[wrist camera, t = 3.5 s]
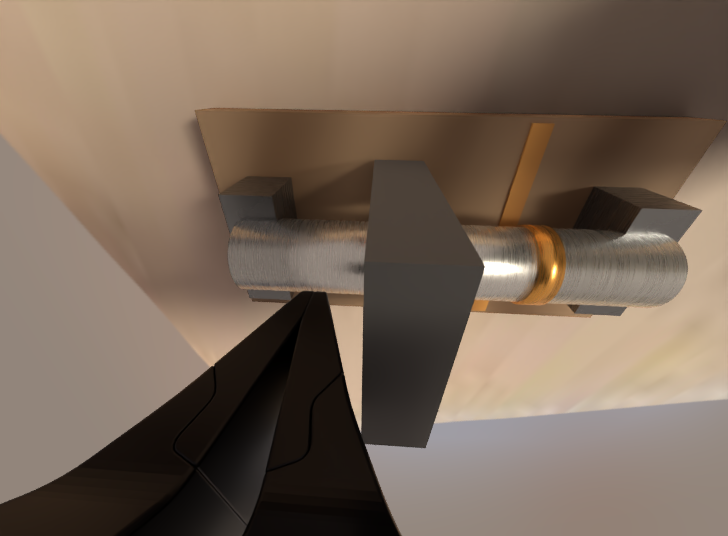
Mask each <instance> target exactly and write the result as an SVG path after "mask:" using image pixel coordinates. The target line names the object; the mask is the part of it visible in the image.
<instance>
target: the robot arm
mask: <svg viewBox="0 0 728 536" xmlns="http://www.w3.org/2000/svg"><path fill="white" fill-rule="evenodd" d="M0 536H402V535H401V533H400V531H399V529H398V527H397V525H396V523H395V521H394V519H393V516H392V514H391V512H390V510H389V507H388V505H387V502H386V500H385V497H384V495H383V492H382V490H381V487H380V484H379V482H378V479H377V476H376V474H375V471H374V468H373V465H372V463H371V460H370V457H369V455H368V452H367V449H366V446H365V444H364V441H363V438H362V435H361V433H360V430H359V427H358V424H357V421H356V418H355V415H354V412H353V409H352V406H351V402H350V398H349V394H348V390H347V386H346V381H345V376H344V372H343V367H342V362H341V357H340V353H339V348H338V343H337V338H336V333H335V329H334V324H333V319H332V314H331V310H330V305H329V300H328V295H327V292H322V291H315V292H314V291H301V292H300V293H299V294H297V295H296V296H295V297H294V298H293V299H291V300H290V301H289V302H288V303H287V304H285V305H284V306H283V307H282V308H281V309H280V310H278V311H277V312H276V313H275V314H274V315H272V316H271V317H270V318H269V319H268V320H266V321H265V322H264V323H263V324H262V325H260V326H259V327H258V328H257V329H256V330H254V331H253V332H252V333H251V334H250V335H249V336H247V337H246V338H245V339H244V340H243V341H241V342H240V343H239V344H238V345H237V346H235V347H234V348H233V349H232V350H231V351H229V352H228V353H227V354H226V355H225V356H223V357H222V358H221V359H220V360H219V361H218V362H216V363H215V365H214V366H211V367H210V368H209V369H208V370H207V371H205V372H204V373H203V374H202V375H201V376H200V377H198V378H197V379H196V380H195V381H193V382H192V383H191V384H190V385H188V386H187V387H186V388H185V389H183V390H182V391H181V392H180V393H178V394H177V395H176V396H174V397H173V398H172V399H170V400H169V401H168V402H166V403H165V404H164V405H162V406H161V407H160V408H158V409H157V410H156V411H154V412H153V413H151V414H150V415H149V416H147V417H146V418H145V419H143V420H142V421H141V422H139V423H138V424H136V425H135V426H134V427H132V428H131V429H129V430H128V431H127V432H125V433H124V434H122V435H121V436H120V437H118V438H117V439H116V440H114V441H113V442H111V443H110V444H109V445H107V446H106V447H104V448H103V449H102V450H100V451H99V452H98V453H96V454H95V455H94V456H92V457H91V458H89V459H88V460H86V461H85V462H83V463H82V464H80V465H79V466H78V467H76V468H74V469H73V470H71V471H70V472H68V473H66V474H65V475H63V476H61V477H59V478H58V479H56V480H54V481H52V482H50V483H48V484H47V485H44V486H42V487H40V488H38V489H36V490H34V491H31V492H29V493H27V494H24V495H22V496H19V497H17V498H14V499H12V500H9V501H7V502H4V503H2V504H0Z"/></svg>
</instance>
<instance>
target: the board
mask: <svg viewBox="0 0 728 536" xmlns="http://www.w3.org/2000/svg"><path fill="white" fill-rule="evenodd" d="M195 113H196V116H197V120H198V123H199V126H200V130H201V133H202V136H203V139H204V143H205V146H206V149H207V153H208V156H209V159H210V163H211V166H212V169H213V173H214V176H215V179H216V183H217V186H218V189H219V193H222V192H223V191H225V190H226V189H228V188H229V187H231V186H232V185H234V184H236V183H237V182H239V181H240V180H242V179H243V178H245V177H246V176H260V177H291V179H292V187H293V194H294V201H295V208H296V215H297V219H310V220H338V221H366V222H368V219H369V209H370V200H371V190H372V180H373V170H374V161H375V160H407V161H424V162H425V164H426V166H427V167H428V169H429V171H430V172H431V174H432V176H433V178H434V179H435V181H436V183H437V184H438V186H439V188H440V190H441V191H442V193H443V195H444V196H445V198H446V200H447V202H448V203H449V205H450V207H451V208H452V210H453V212H454V213H455V215H456V217H457V219H458V220H459V222H460V224H461V225H479V226H507V227H515V226H517V225H545V226H549V227H551V228H563V229H572V228H573V226H574V224H575V222H576V220H577V218H578V216H579V214H580V212H581V210H582V208H583V206H584V204H585V202H586V201H587V199H588V197H589V195H590V193H591V191H592V189H593V187H594V186H600V187H634V188H645V189H647V190H650V191H653V192H655V193H658V194H660V195H663V196H666V197H668V198H671V199H673V198H674V197H675V195H676V194H677V192H678V191H679V189H680V188H681V186H682V185H683V184H684V182H685V181H686V179H687V178H688V176H689V175H690V174H691V172H692V171H693V169H694V168H695V166H696V165H697V163H698V162H699V161H700V159H701V158H702V156H703V155H704V153H705V152H706V150H707V149H708V148H709V146H710V145H711V143H712V142H713V140H714V139H715V138H716V136H717V135H718V133H719V132H720V130H721V129H722V127H723V126H724V125H725V123H726V122H727V121H724V120H713V119H702V118H691V117H654V116H602V115H550V114H498V113H446V112H394V111H342V110H290V109H238V108H211V109H202V110H195ZM299 293H300V292H296V291H295V293H294V295H293V297H292V299H293V298H294V297H295V296H296V295H297V294H299ZM327 295H328V300H329V305H341V306H361V307H363V303H364V295H360V294H339V293H327ZM251 299H252V301H258V302H279V303H288V302H289V301H290V300H279V299H258V298H251ZM471 312H486V313H506V314H527V315H548V316H569V317H589V318H591V316H592V315H593V314H574V312H573V311H572V310H571V309H570V308H569V307H568V305H567V304H554V303H546V304H544V305H521V304H514V303H512V302H510V301H489V300H474V303H473V306H472V309H471Z"/></svg>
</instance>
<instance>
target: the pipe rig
mask: <svg viewBox="0 0 728 536" xmlns="http://www.w3.org/2000/svg"><path fill="white" fill-rule="evenodd" d="M218 196H219V199H220V202H221V205H222V209H223V212H224V215H225V219H226V222H227V225H228V228H229V232H230V238H229V244H228V265H229V270H230V273H231V276H232V279H233V280H234V282H235V284H236V285H237V286H238V287H240V288H242V289H247V291H248V294H249V297H250V298H258V299H279V300H291V299H292V297H293V295H294V293H295V291H296V292H301V291H314V292H315V291H322V292H327V293H339V294H360V295H364V258H365V248H366V239H367V229H368V222H366V221H338V220H310V219H297V215H296V208H295V201H294V194H293V187H292V179H291V177H260V176H246V177H245V178H243V179H242V180H240V181H239V182H237V183H236V184H234V185H232V186H231V187H229V188H228V189H226V190H225V191H223V192H222V193H220V194H219V195H218ZM701 212H702V210H700V209H698V208H695V207H692V206H690V205H687V204H684V203H682V202H679V201H676V200H674V199H671V198H668V197H666V196H663V195H660V194H658V193H655V192H653V191H650V190H647V189H645V188H634V187H600V186H594V187H593V189H592V191H591V193H590V195H589V197H588V199H587V201H586V202H585V204H584V206H583V208H582V210H581V212H580V214H579V216H578V218H577V220H576V222H575V224H574V226H573V228H572V229H563V228H551V227H549V226H545V225H517V226H515V227H507V226H479V225H462V227H463V229H464V231H465V232H466V234H467V236H468V237H469V239H470V241H471V243H472V244H473V246H474V248H475V249H476V251H477V253H478V255H479V256H480V258H481V260H482V261H483V263H484V265H485V270H484V273H483V276H482V279H481V282H480V285H479V288H478V291H477V294H476V297H475V300H489V301H510V302H512V303H514V304H521V305H544V304H546V303H554V304H567V305H568V307H569V308H570V309H571V310H572V311H573V312H574V314H593V315H614V316H621V314H622V313H623V312H624V310H625V309H626V308H627V307H640V308H651V307H657V306H660V305H663V304H665V303H667V302H669V301H670V300H672V299H673V298H674V297H675V296H676V295H677V294H678V293H679V292H680V291H681V289H682V287H683V286H684V284H685V281H686V278H687V272H688V265H687V259H686V256H685V254H684V251H683V250H682V248H681V247H680V245H679V244H678V243H677V242H678V241H679V240H680V239H681V237H682V236H683V235H684V233H685V232H686V231H687V230H688V228H689V227H690V226H691V224H692V223H693V222H694V221H695V219H696V218H697V217H698V215H699V214H700V213H701Z"/></svg>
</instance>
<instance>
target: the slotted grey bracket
mask: <svg viewBox="0 0 728 536" xmlns="http://www.w3.org/2000/svg"><path fill="white" fill-rule="evenodd" d="M484 270H485V265H484V263H483V261H482V260H481V258H480V256H479V255H478V253H477V251H476V249H475V248H474V246H473V244H472V243H471V241H470V239H469V237H468V236H467V234H466V232H465V231H464V229H463V227H462V225H461V224H460V222H459V220H458V219H457V217H456V215H455V213H454V212H453V210H452V208H451V207H450V205H449V203H448V202H447V200H446V198H445V196H444V195H443V193H442V191H441V190H440V188H439V186H438V184H437V183H436V181H435V179H434V178H433V176H432V174H431V172H430V171H429V169H428V167H427V166H426V164H425V162H424V161H407V160H375V161H374V170H373V180H372V190H371V200H370V209H369V219H368V229H367V239H366V248H365V258H364V303H363V365H362V427H361V435H362V438H363V441H364V444H374V445H388V446H402V447H403V446H404V447H417V448H426V445H427V442H428V439H429V436H430V433H431V430H432V427H433V424H434V421H435V418H436V415H437V412H438V409H439V406H440V403H441V400H442V397H443V394H444V391H445V388H446V385H447V382H448V379H449V376H450V372H451V369H452V366H453V363H454V360H455V357H456V354H457V351H458V348H459V345H460V342H461V339H462V336H463V333H464V330H465V327H466V324H467V321H468V318H469V315H470V312H471V309H472V306H473V303H474V300H475V297H476V294H477V291H478V288H479V285H480V282H481V279H482V276H483V273H484Z"/></svg>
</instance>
